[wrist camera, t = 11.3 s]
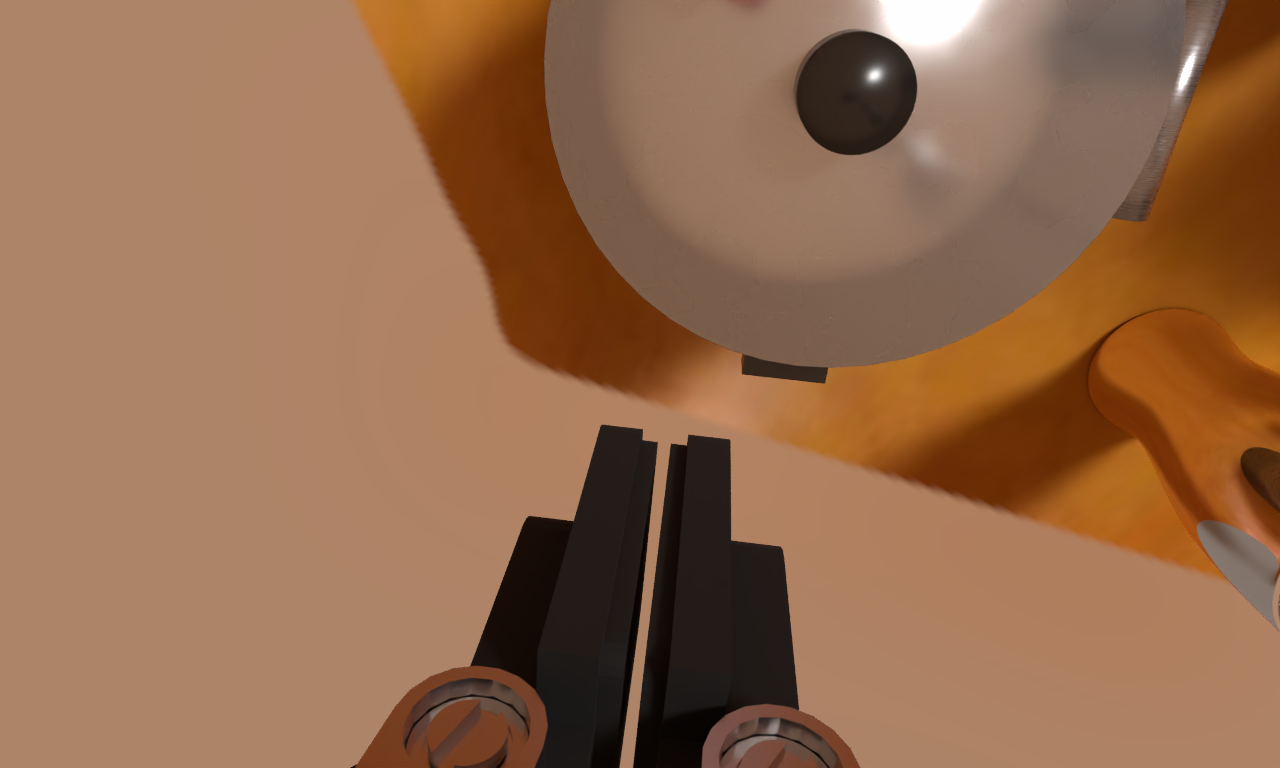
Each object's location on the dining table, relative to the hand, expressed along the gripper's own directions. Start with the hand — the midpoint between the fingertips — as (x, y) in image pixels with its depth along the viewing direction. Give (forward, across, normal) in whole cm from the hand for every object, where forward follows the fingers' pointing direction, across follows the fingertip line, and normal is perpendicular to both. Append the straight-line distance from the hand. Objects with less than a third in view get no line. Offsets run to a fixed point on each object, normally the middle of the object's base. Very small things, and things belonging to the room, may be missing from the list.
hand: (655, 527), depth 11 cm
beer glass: (+27, -22, +8) cm, 36 cm away
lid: (+18, -4, -4) cm, 19 cm away
